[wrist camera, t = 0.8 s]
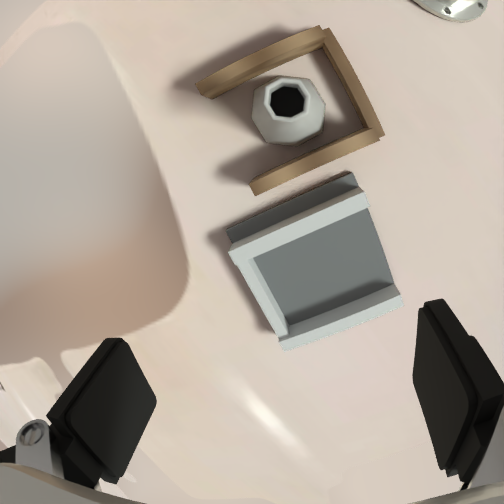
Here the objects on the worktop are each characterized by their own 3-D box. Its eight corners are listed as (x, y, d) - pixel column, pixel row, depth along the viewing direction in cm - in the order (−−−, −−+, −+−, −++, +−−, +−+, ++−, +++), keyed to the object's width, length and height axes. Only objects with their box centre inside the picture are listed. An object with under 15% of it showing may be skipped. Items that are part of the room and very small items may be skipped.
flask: (243, 83, 28) (221, 62, 19) (317, 69, 26) (327, 41, 17) (259, 153, 30) (244, 162, 21) (332, 140, 29) (351, 143, 20)
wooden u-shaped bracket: (326, 33, 25) (331, 20, 21) (379, 134, 28) (391, 135, 24) (206, 89, 28) (195, 84, 25) (259, 188, 31) (255, 196, 28)
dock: (351, 172, 30) (358, 176, 27) (399, 302, 34) (406, 316, 31) (226, 229, 33) (220, 238, 30) (290, 344, 38) (289, 361, 35)
